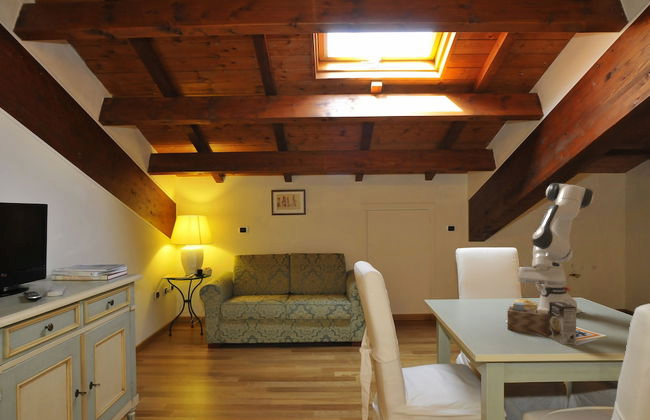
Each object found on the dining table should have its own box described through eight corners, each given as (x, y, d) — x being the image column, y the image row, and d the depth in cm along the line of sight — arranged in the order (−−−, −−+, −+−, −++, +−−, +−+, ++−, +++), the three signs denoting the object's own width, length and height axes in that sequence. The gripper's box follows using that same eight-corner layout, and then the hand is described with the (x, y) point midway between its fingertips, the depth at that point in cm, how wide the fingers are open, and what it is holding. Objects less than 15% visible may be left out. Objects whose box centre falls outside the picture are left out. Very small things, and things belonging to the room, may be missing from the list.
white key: (537, 316, 185) (537, 309, 185) (537, 314, 189) (537, 307, 189) (547, 318, 182) (547, 310, 182) (548, 315, 186) (548, 308, 186)
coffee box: (548, 337, 177) (548, 301, 176) (562, 337, 177) (562, 301, 177) (562, 344, 167) (562, 306, 167) (576, 344, 168) (576, 306, 168)
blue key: (513, 311, 190) (513, 303, 190) (514, 309, 194) (514, 301, 194) (523, 312, 188) (523, 304, 188) (524, 310, 191) (524, 303, 191)
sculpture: (519, 322, 200) (519, 301, 200) (507, 316, 212) (506, 296, 212) (541, 322, 200) (541, 301, 200) (527, 315, 212) (527, 295, 212)
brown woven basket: (507, 329, 189) (507, 310, 189) (509, 324, 197) (509, 306, 197) (553, 335, 179) (553, 316, 179) (553, 330, 188) (553, 311, 188)
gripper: (518, 261, 198) (516, 284, 189) (565, 264, 187) (566, 288, 179) (519, 269, 201) (517, 292, 193) (566, 272, 191) (566, 296, 182)
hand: (541, 290), depth 186 cm, fingers closed
